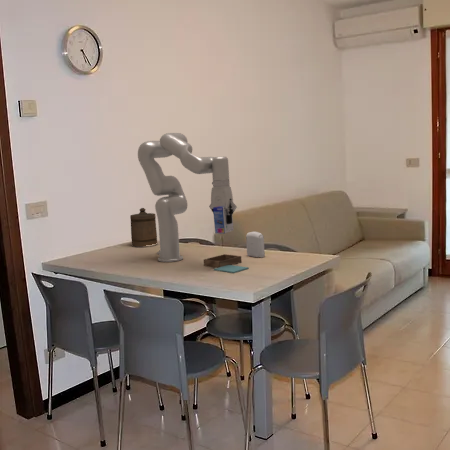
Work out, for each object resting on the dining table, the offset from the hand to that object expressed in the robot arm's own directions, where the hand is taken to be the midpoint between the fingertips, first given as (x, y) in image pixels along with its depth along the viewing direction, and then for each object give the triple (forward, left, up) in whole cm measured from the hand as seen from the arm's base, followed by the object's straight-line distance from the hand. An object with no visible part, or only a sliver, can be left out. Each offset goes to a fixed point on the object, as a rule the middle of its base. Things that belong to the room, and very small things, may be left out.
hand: (223, 223), depth 254 cm
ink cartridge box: (0, 0, -4) cm, 4 cm away
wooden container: (-83, +20, -20) cm, 88 cm away
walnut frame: (-4, +2, -20) cm, 20 cm away
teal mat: (+8, -5, -20) cm, 22 cm away
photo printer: (-2, +24, -20) cm, 32 cm away
